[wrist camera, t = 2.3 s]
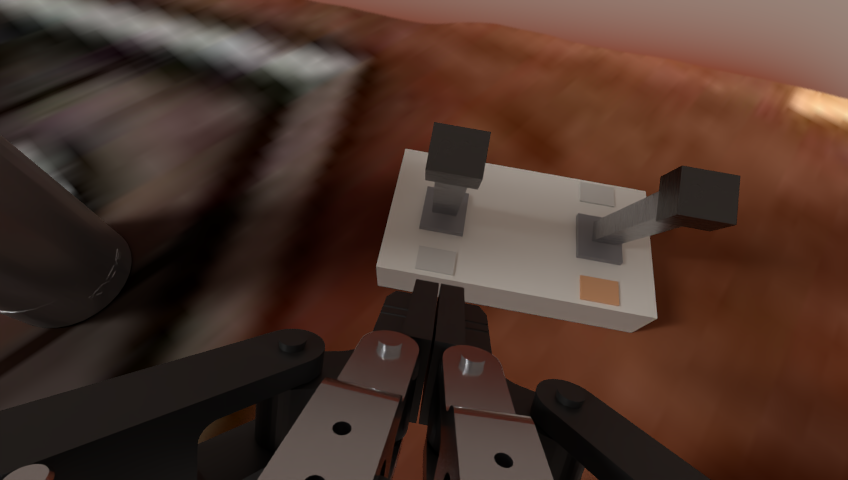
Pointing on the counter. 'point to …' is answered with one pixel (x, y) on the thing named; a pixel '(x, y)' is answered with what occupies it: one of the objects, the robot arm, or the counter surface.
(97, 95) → the counter surface
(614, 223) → the lever
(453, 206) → the lever
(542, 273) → the switch unit
